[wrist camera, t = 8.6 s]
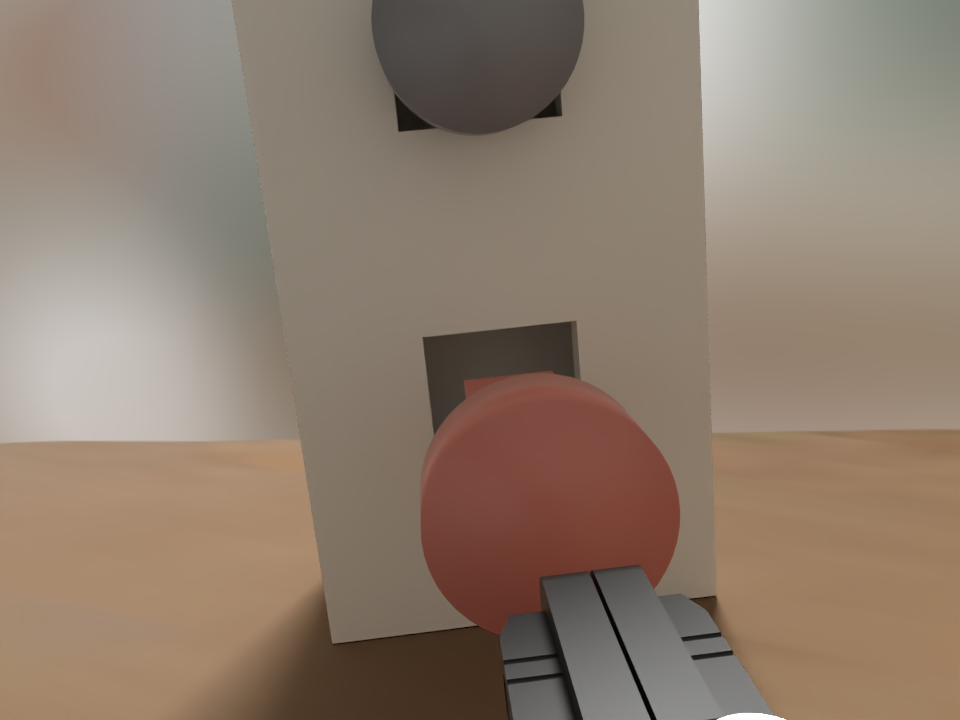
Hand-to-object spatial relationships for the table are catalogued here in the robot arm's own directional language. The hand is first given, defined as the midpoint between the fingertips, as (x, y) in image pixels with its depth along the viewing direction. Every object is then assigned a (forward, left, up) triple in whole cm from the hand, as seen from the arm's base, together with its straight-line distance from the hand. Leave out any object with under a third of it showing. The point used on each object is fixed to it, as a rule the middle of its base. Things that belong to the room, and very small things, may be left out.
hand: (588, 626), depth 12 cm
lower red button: (-5, +5, -3) cm, 7 cm away
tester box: (-11, +11, -7) cm, 16 cm away
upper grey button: (-9, +9, +7) cm, 15 cm away
